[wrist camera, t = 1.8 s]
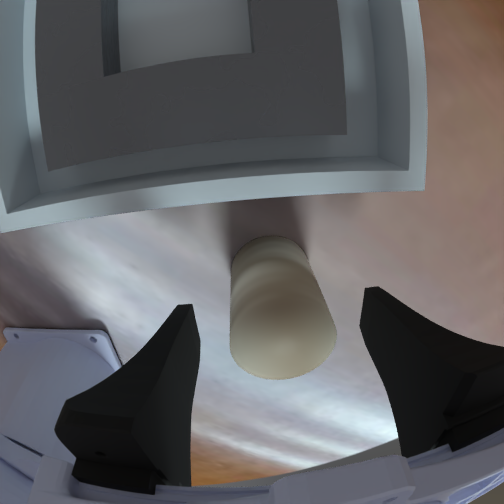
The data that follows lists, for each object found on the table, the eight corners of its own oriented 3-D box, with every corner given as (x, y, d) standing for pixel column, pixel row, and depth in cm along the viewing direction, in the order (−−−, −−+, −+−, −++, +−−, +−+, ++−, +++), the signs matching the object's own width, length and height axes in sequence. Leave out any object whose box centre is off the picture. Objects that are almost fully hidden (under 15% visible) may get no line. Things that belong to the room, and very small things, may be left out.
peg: (235, 306, 17) (235, 383, 12) (227, 239, 15) (223, 306, 10) (307, 299, 17) (331, 373, 12) (308, 232, 15) (341, 294, 10)
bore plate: (69, 162, 13) (48, 171, 11) (62, -49, 7) (44, -62, 6) (331, 130, 13) (347, 134, 11) (306, -90, 7) (315, -110, 6)
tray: (38, 207, 14) (0, 233, 11) (27, -48, 7) (-7, -65, 4) (386, 170, 14) (424, 190, 11) (354, -99, 7) (378, -129, 4)
